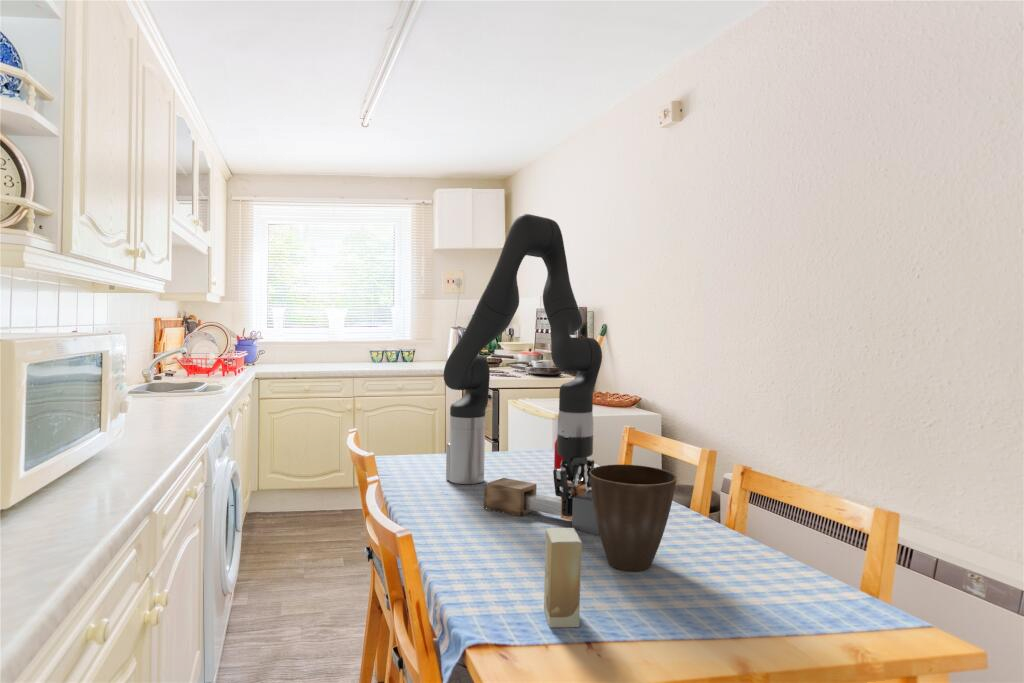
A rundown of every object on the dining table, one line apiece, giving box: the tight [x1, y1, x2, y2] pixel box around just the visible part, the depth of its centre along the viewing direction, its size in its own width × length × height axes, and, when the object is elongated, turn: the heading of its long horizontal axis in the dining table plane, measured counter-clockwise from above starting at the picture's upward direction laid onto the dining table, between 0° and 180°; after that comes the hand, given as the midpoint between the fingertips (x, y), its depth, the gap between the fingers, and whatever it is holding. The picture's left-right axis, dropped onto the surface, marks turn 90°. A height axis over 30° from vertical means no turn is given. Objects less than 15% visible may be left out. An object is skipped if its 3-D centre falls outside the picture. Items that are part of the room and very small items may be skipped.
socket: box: [571, 489, 600, 536], centre depth 137 cm, size 8×8×6 cm
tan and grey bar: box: [524, 481, 586, 521], centre depth 142 cm, size 20×3×7 cm, turn 56°
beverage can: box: [553, 439, 568, 482], centre depth 174 cm, size 6×6×12 cm
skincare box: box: [543, 527, 583, 629], centre depth 95 cm, size 6×4×12 cm
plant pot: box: [590, 464, 677, 572], centre depth 117 cm, size 15×15×16 cm
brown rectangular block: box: [483, 477, 537, 517], centre depth 149 cm, size 10×6×6 cm, turn 56°
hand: (573, 512), depth 140 cm, fingers open, 5 cm apart
